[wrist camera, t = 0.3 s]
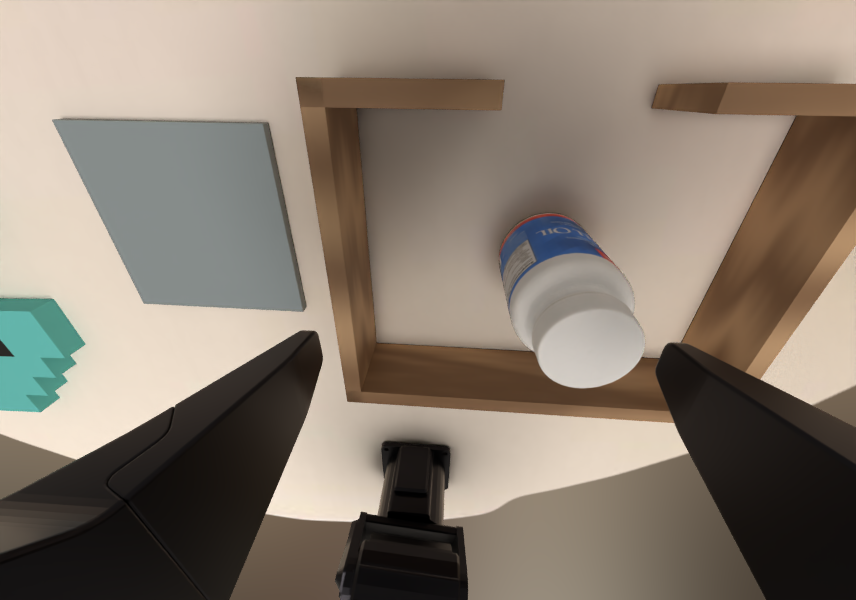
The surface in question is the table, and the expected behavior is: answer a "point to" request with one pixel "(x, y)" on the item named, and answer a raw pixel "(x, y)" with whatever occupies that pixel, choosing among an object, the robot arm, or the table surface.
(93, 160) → the slate mat
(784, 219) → the walnut box
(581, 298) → the pill bottle
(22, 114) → the table surface
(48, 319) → the alien figure
